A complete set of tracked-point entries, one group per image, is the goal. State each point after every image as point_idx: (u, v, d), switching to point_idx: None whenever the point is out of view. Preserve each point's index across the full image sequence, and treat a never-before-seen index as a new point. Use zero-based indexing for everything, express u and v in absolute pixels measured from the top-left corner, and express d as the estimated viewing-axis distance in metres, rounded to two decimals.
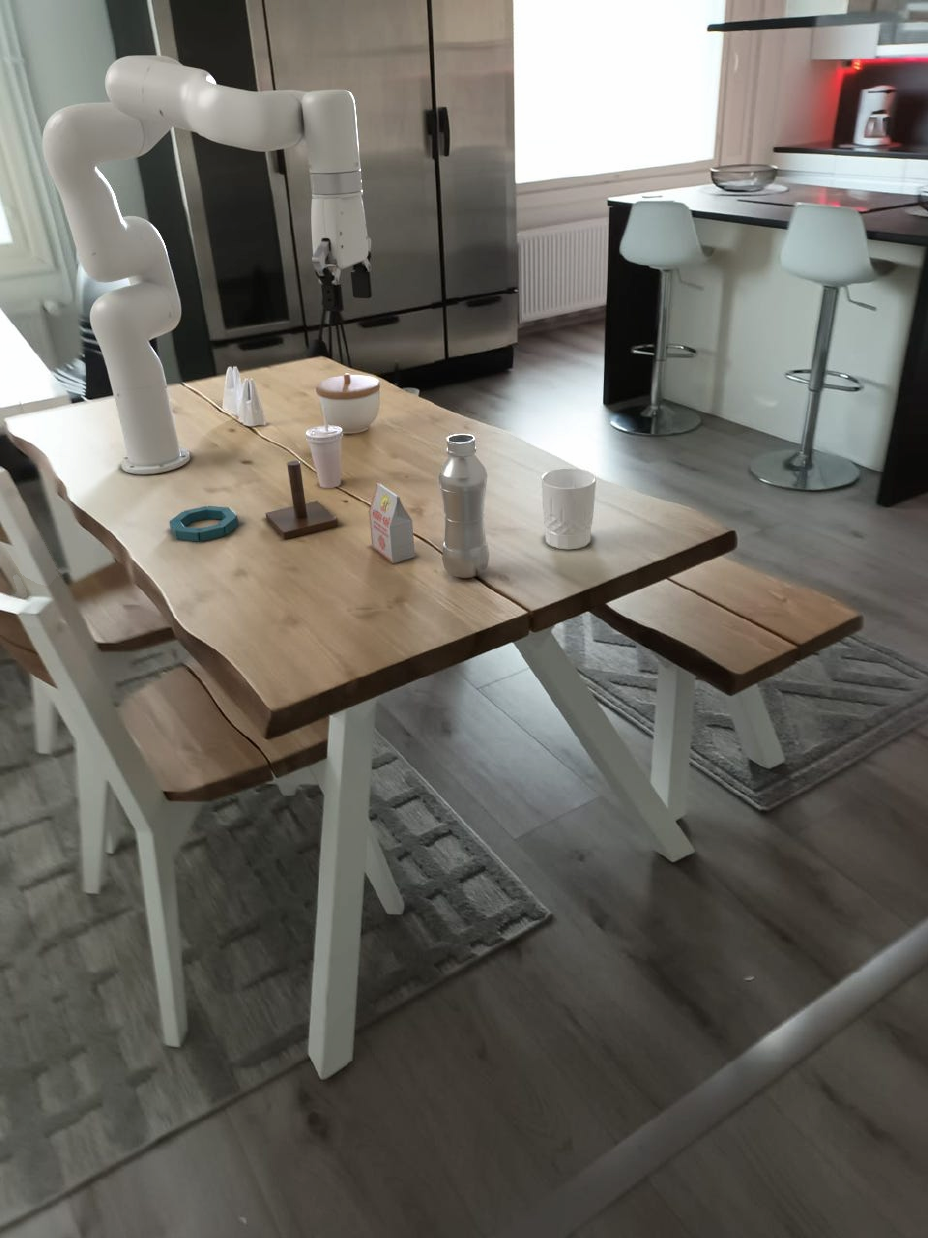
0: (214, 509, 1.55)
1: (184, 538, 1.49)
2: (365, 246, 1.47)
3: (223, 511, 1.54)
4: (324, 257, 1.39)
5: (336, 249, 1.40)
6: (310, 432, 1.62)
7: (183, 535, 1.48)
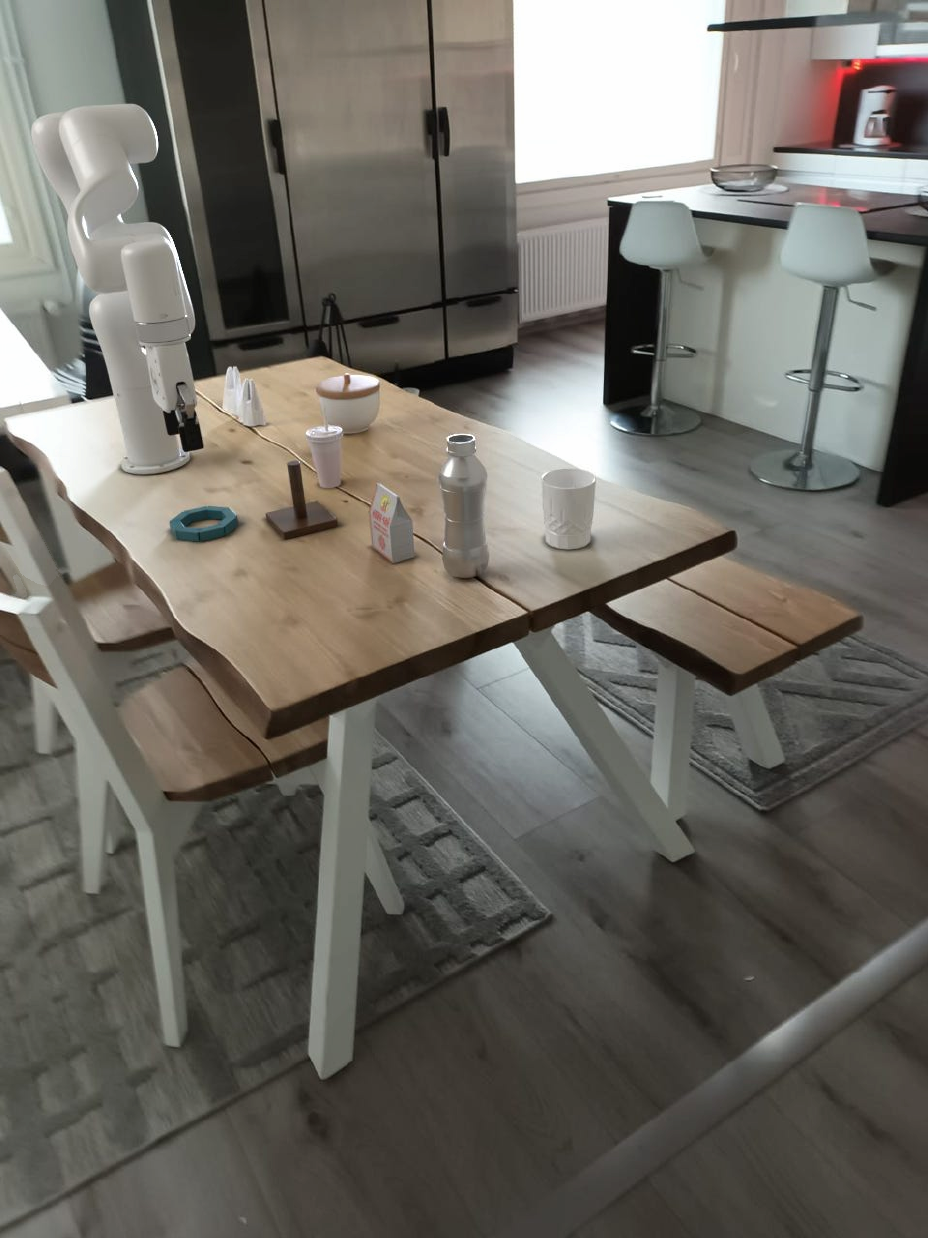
0: (214, 509, 1.55)
1: (184, 538, 1.49)
2: None
3: (223, 511, 1.54)
4: None
5: (193, 390, 1.42)
6: (310, 432, 1.62)
7: (183, 535, 1.48)
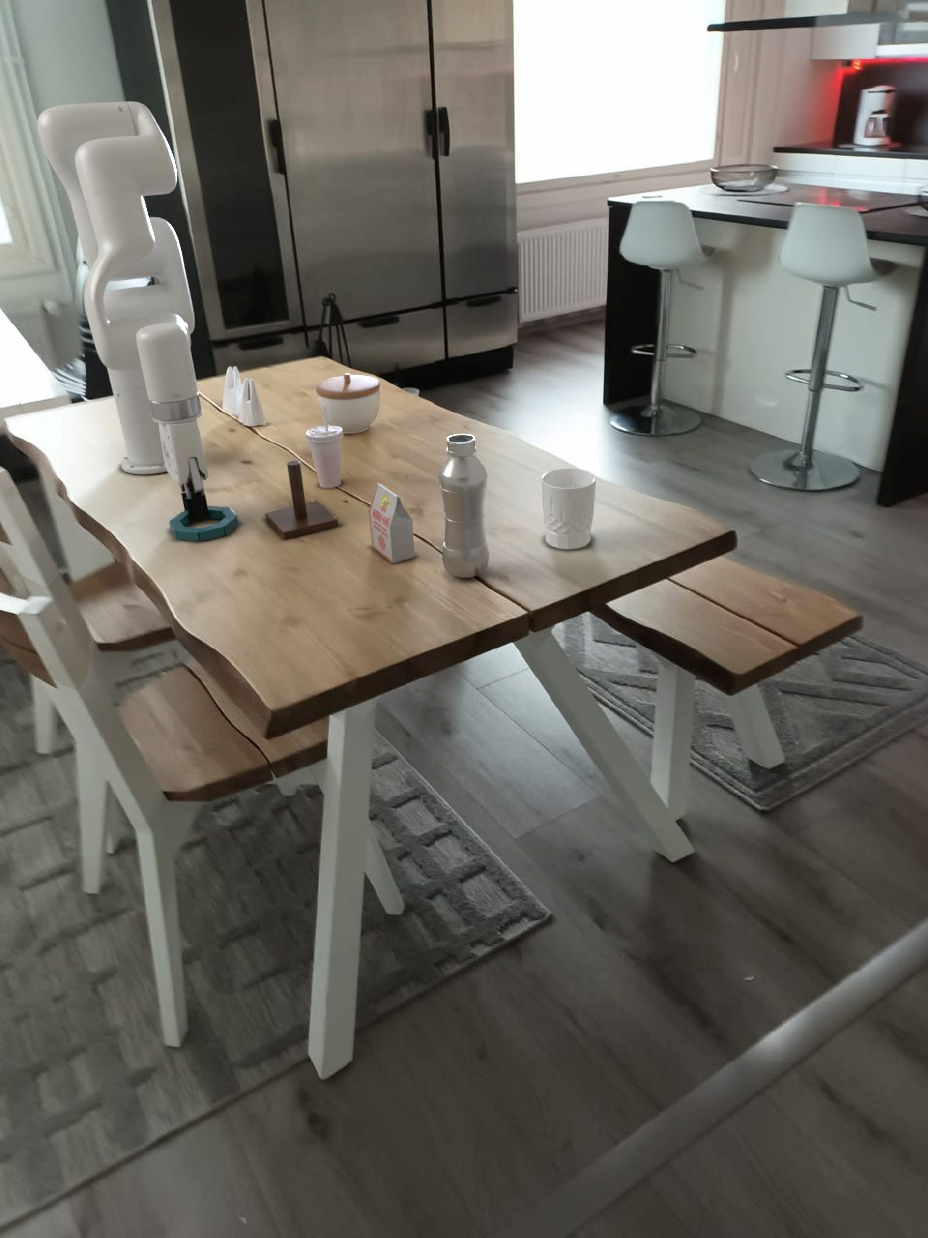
0: (214, 509, 1.55)
1: (184, 538, 1.49)
2: None
3: (223, 511, 1.54)
4: None
5: (204, 464, 1.48)
6: (310, 432, 1.62)
7: (183, 535, 1.48)
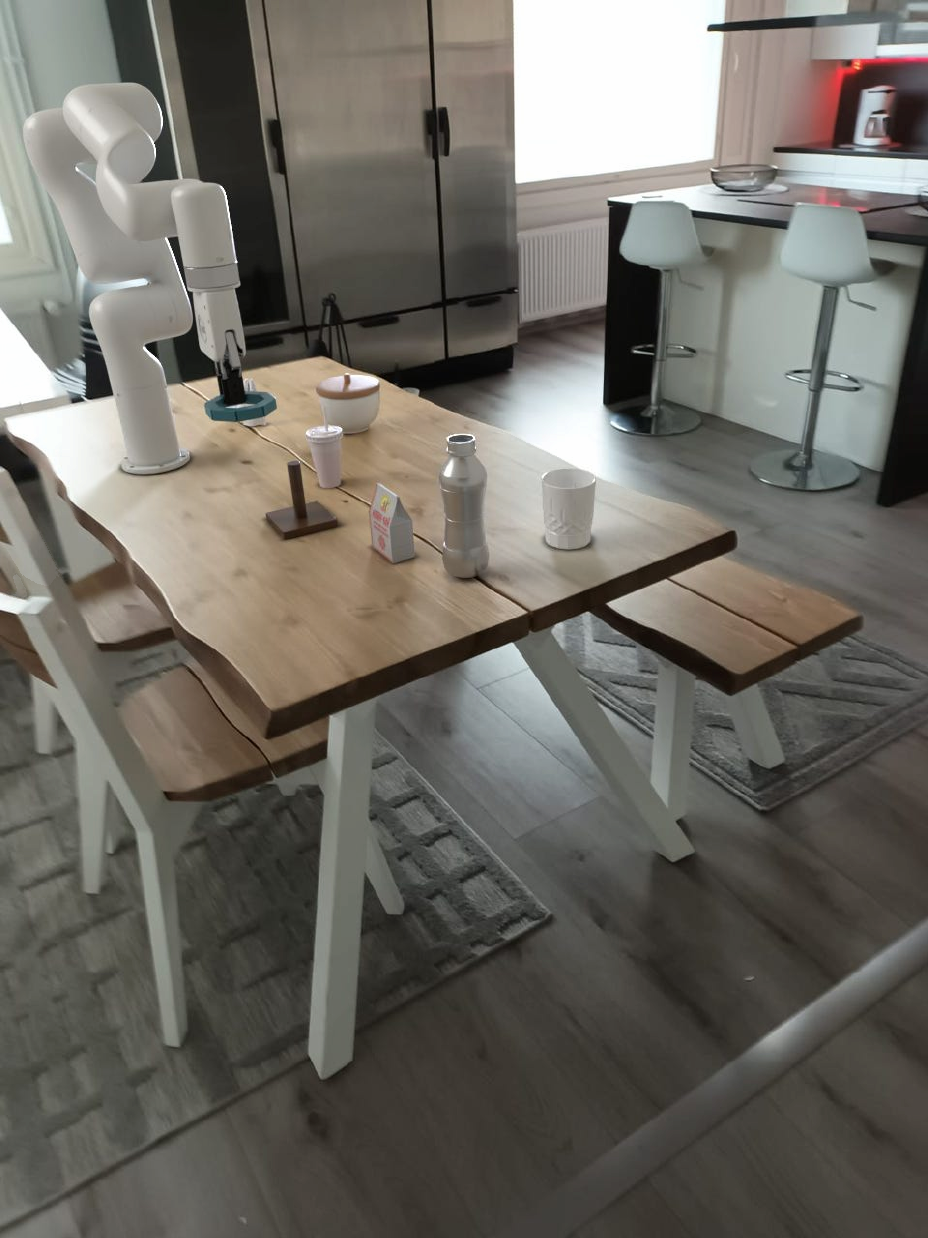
0: (251, 393, 1.45)
1: (220, 418, 1.39)
2: None
3: (261, 394, 1.45)
4: None
5: (242, 339, 1.38)
6: (310, 432, 1.62)
7: (219, 415, 1.39)
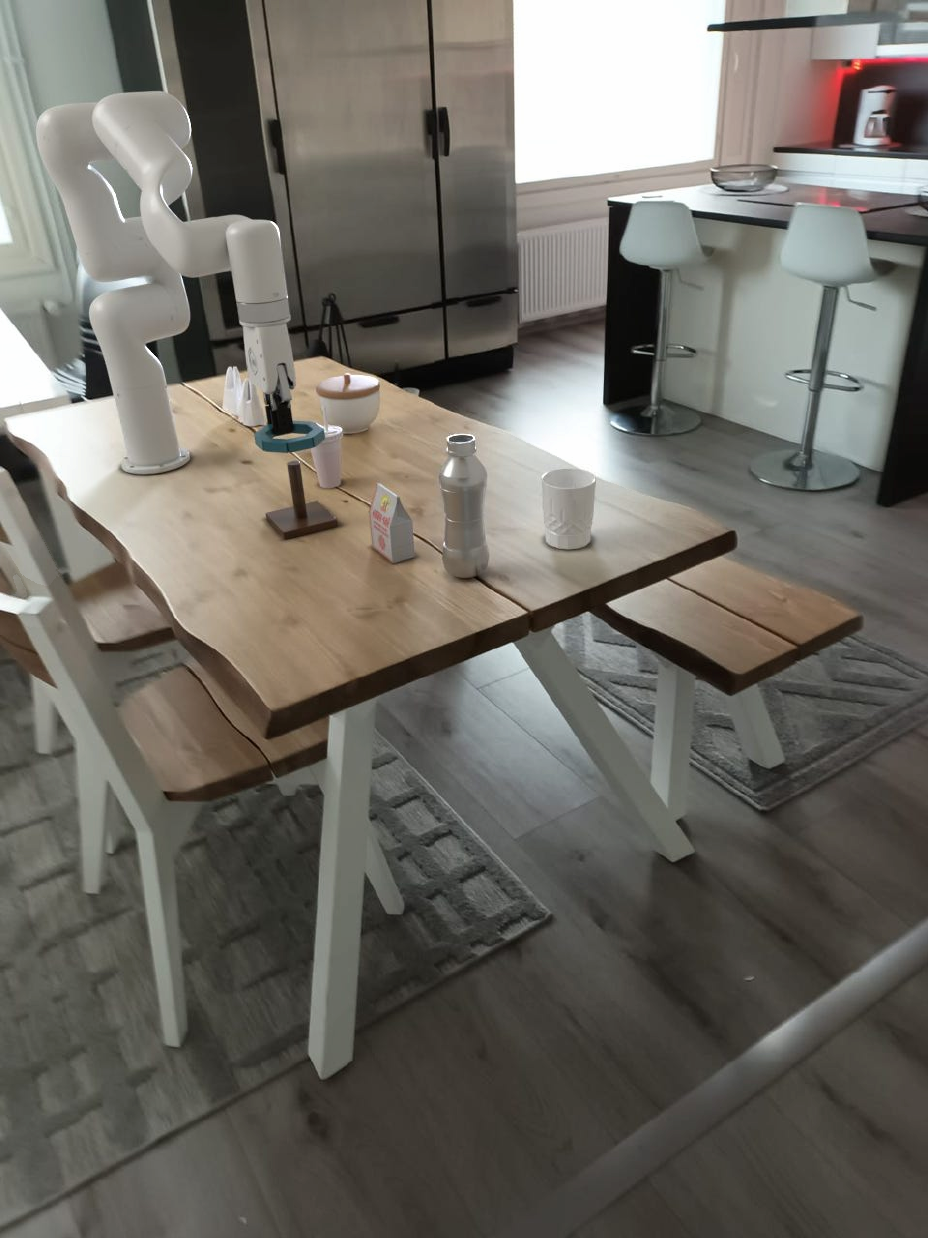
0: (299, 423, 1.48)
1: (271, 449, 1.42)
2: None
3: (309, 424, 1.47)
4: None
5: (293, 371, 1.41)
6: None
7: (270, 446, 1.42)
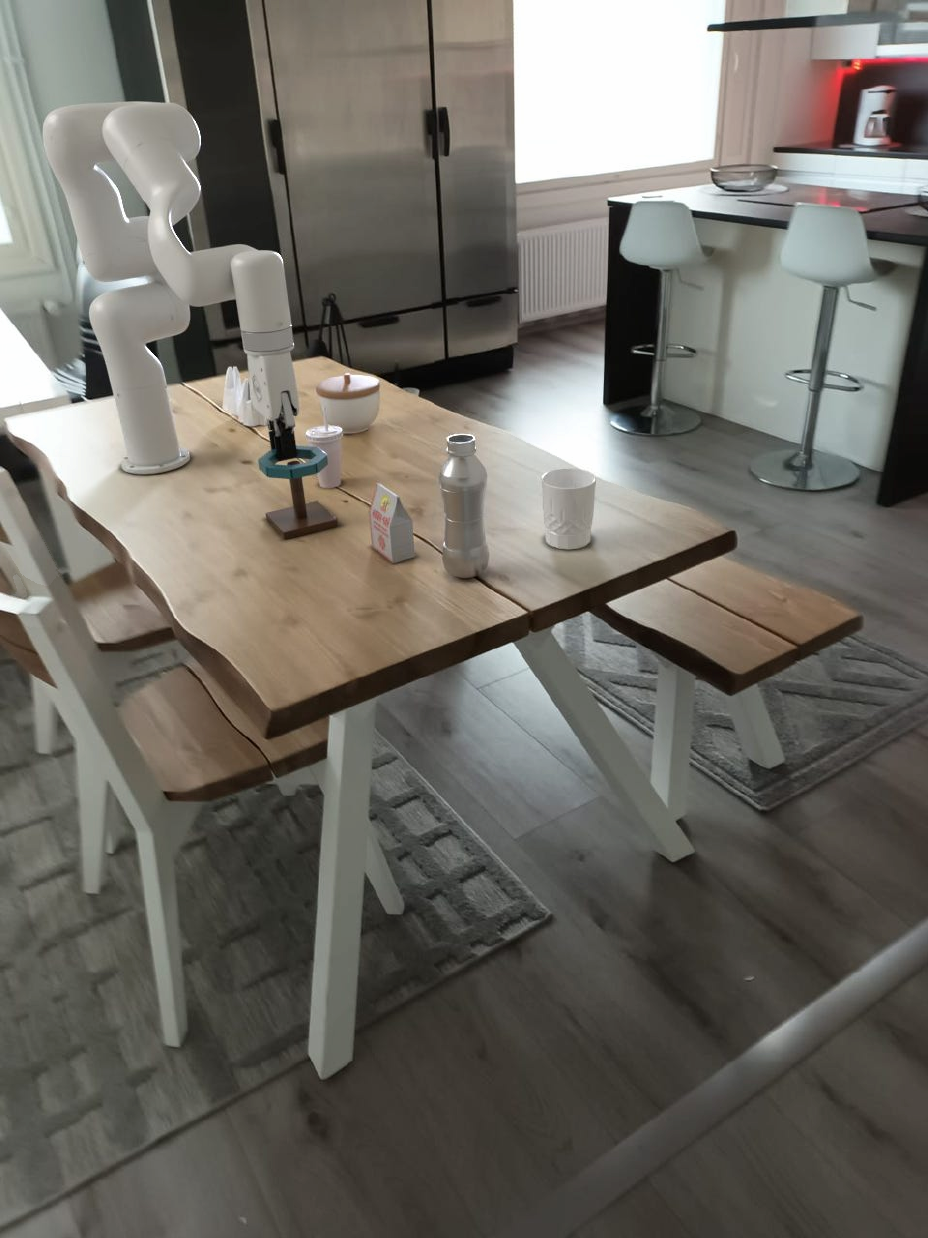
0: (302, 448, 1.50)
1: (275, 475, 1.44)
2: None
3: (312, 450, 1.49)
4: None
5: (296, 399, 1.43)
6: (310, 432, 1.62)
7: (274, 472, 1.44)
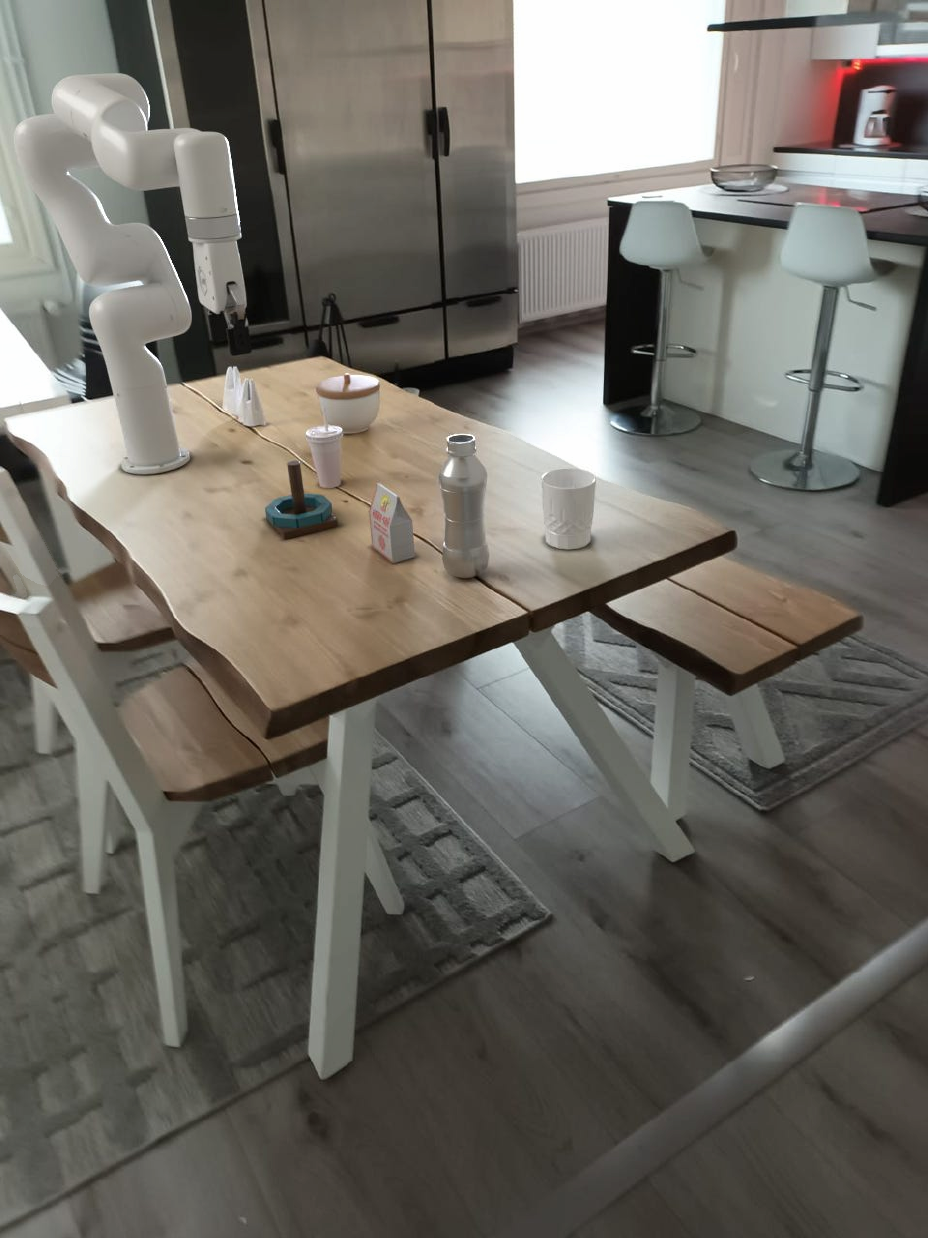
0: (307, 496, 1.55)
1: (281, 525, 1.49)
2: None
3: (317, 498, 1.54)
4: None
5: (243, 291, 1.38)
6: (310, 432, 1.62)
7: (281, 522, 1.48)
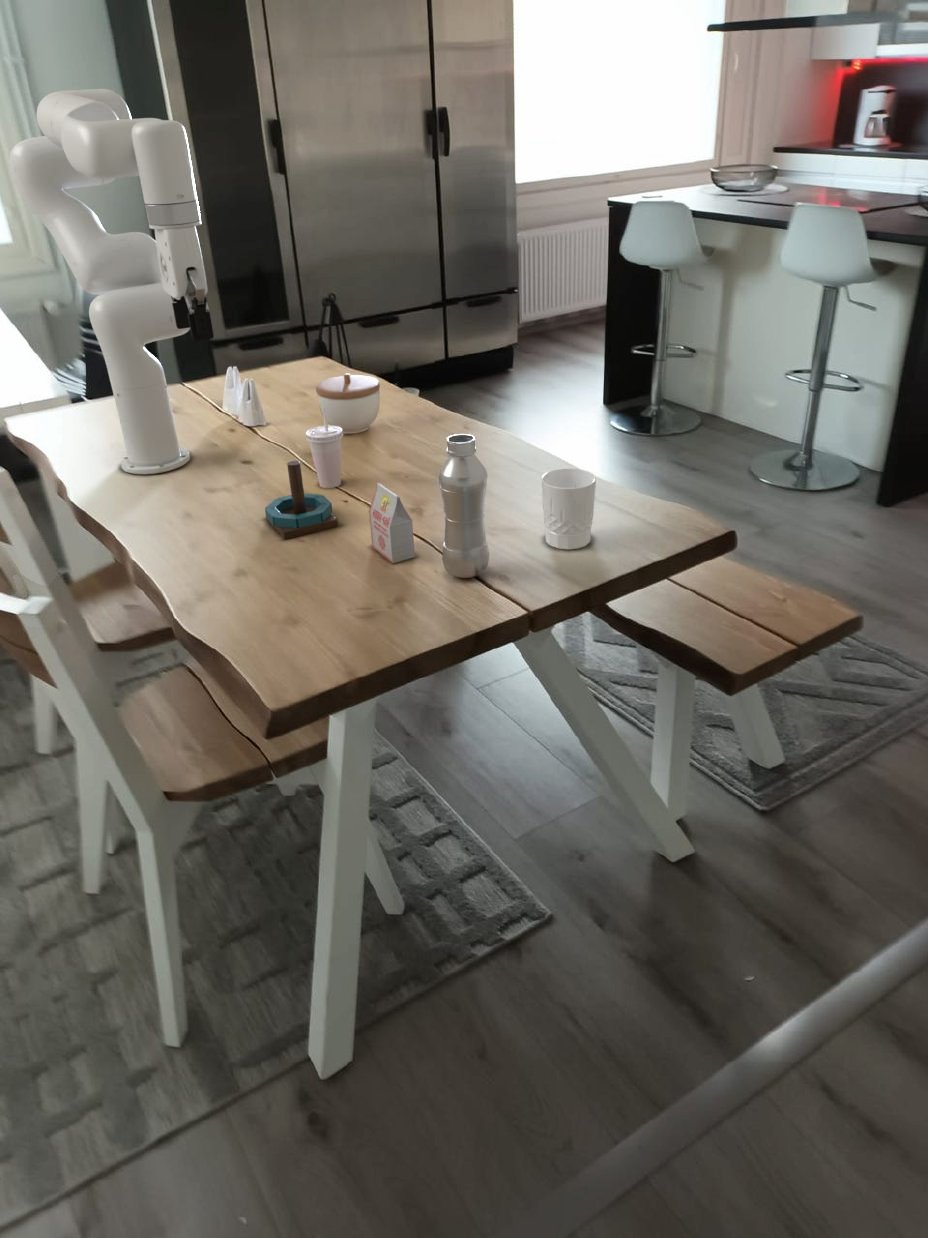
0: (307, 496, 1.55)
1: (281, 525, 1.49)
2: None
3: (317, 498, 1.54)
4: None
5: (203, 276, 1.40)
6: (310, 432, 1.62)
7: (281, 522, 1.48)
